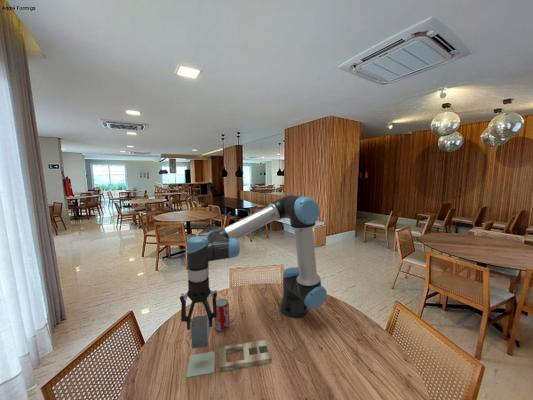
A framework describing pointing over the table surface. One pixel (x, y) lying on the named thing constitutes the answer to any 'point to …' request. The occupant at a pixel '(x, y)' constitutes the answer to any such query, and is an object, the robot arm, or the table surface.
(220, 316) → the soda can
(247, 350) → the plate
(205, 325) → the block
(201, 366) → the mat
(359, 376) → the table surface
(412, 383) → the table surface
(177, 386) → the table surface
